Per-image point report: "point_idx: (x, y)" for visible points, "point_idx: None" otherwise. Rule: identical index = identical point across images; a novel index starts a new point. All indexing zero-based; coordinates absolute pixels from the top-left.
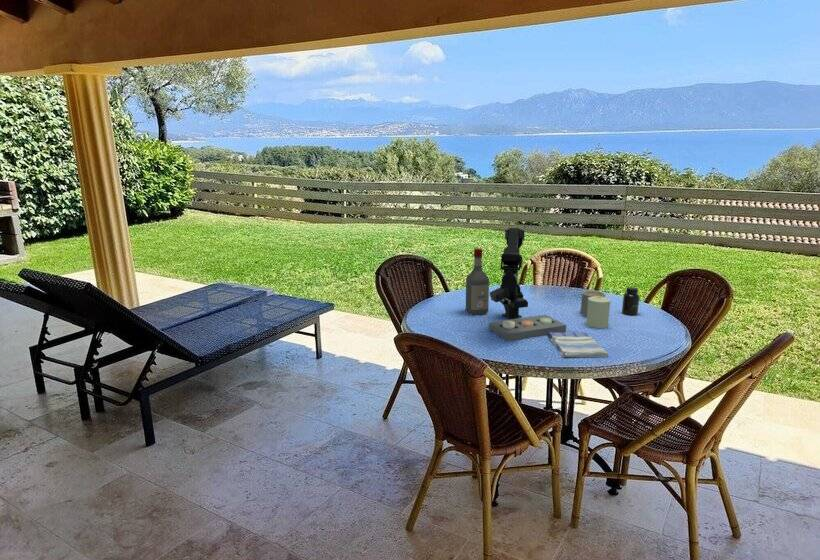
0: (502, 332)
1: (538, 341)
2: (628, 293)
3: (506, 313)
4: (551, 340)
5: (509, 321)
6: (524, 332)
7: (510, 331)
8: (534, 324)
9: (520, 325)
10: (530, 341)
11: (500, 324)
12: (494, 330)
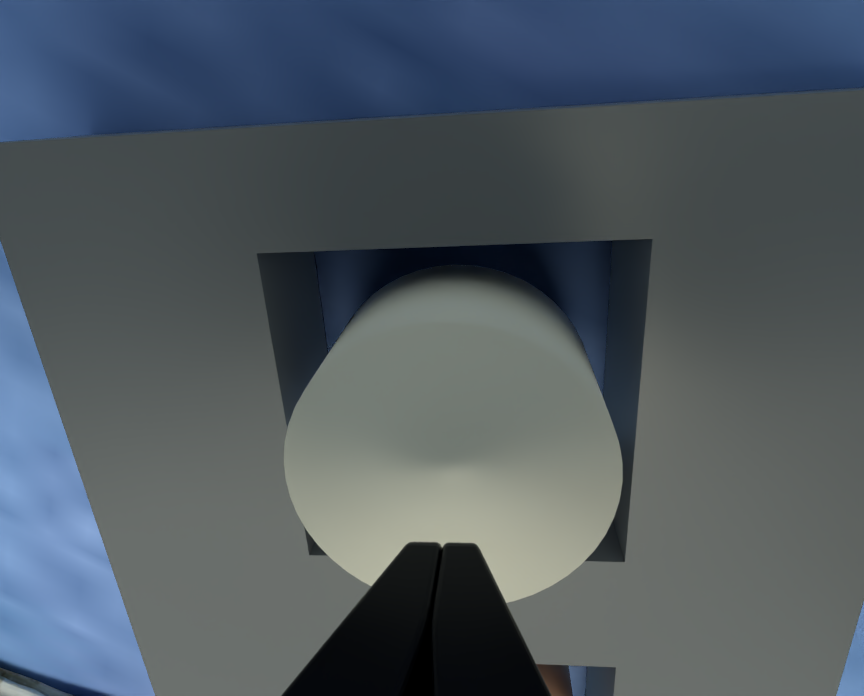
0: (216, 129)
1: (41, 561)
2: None
3: (494, 669)
4: (6, 686)
5: (515, 530)
6: (114, 527)
7: (137, 301)
8: None
9: None
10: (48, 477)
11: (675, 320)
12: (613, 103)
